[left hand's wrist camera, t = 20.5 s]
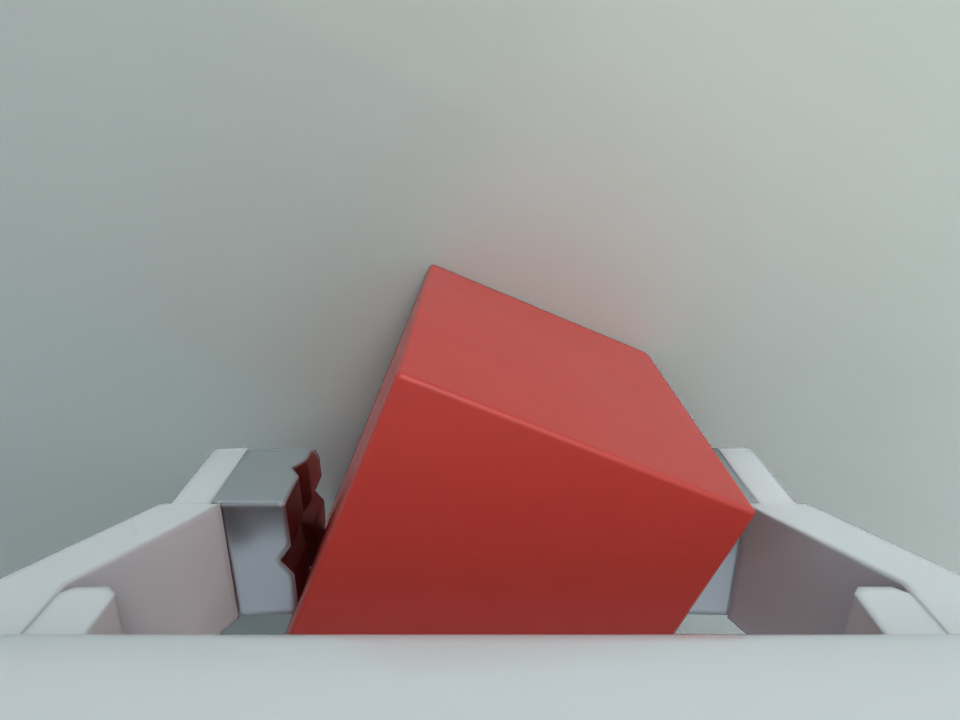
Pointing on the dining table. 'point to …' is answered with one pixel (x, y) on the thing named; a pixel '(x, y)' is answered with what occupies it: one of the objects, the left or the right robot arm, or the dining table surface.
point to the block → (519, 485)
